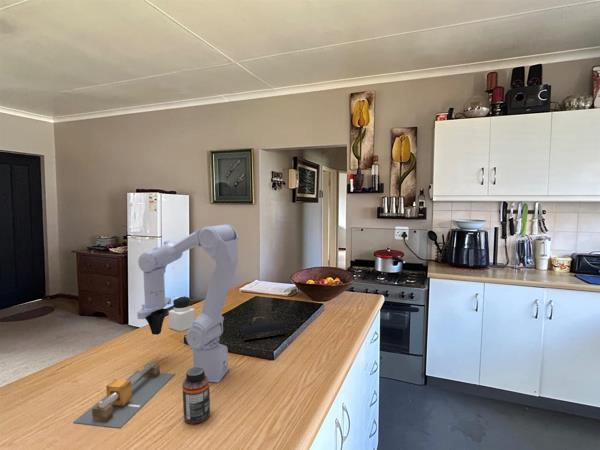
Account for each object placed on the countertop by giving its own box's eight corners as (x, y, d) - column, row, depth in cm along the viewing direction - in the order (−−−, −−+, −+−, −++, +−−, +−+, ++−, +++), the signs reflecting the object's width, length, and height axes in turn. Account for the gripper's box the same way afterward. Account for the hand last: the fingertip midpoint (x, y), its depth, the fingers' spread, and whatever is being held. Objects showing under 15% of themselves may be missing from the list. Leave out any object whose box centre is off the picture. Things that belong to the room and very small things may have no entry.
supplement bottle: (187, 409, 81) (185, 364, 80) (212, 407, 81) (210, 363, 80) (180, 425, 75) (178, 377, 74) (207, 424, 75) (206, 376, 75)
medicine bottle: (195, 326, 133) (194, 296, 132) (180, 332, 127) (179, 301, 126) (184, 322, 137) (182, 294, 136) (168, 328, 131) (167, 298, 130)
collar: (131, 398, 84) (130, 380, 83) (123, 405, 81) (122, 387, 80) (115, 396, 84) (115, 379, 84) (107, 403, 81) (106, 385, 81)
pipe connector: (238, 317, 128) (276, 313, 133) (238, 331, 129) (276, 325, 134) (244, 329, 118) (284, 323, 123) (244, 343, 118) (284, 337, 123)
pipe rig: (175, 374, 97) (174, 360, 96) (120, 428, 74) (119, 410, 74) (137, 371, 99) (136, 357, 98) (73, 422, 76) (72, 405, 76)
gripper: (156, 283, 110) (158, 324, 111) (126, 296, 95) (129, 342, 96) (176, 284, 108) (177, 325, 110) (149, 297, 94) (151, 344, 95)
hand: (156, 333), depth 103 cm, fingers closed
